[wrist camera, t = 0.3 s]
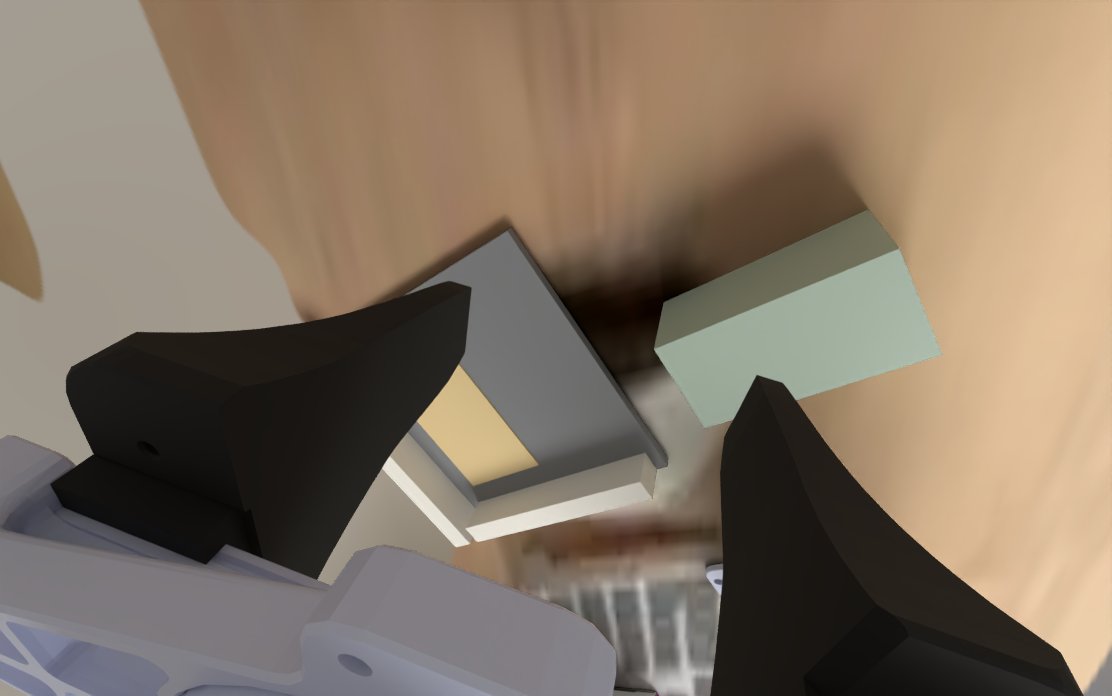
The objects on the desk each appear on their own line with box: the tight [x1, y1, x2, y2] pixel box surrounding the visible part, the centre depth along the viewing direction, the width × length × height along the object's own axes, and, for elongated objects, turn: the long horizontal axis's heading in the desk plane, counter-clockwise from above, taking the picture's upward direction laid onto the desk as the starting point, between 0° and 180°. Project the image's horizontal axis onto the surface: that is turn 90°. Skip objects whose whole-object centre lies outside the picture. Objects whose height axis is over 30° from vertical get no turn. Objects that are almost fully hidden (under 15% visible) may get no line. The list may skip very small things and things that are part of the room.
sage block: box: [654, 209, 942, 429], centre depth 19 cm, size 4×8×4 cm, turn 125°
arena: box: [382, 227, 668, 547], centre depth 26 cm, size 14×14×2 cm
